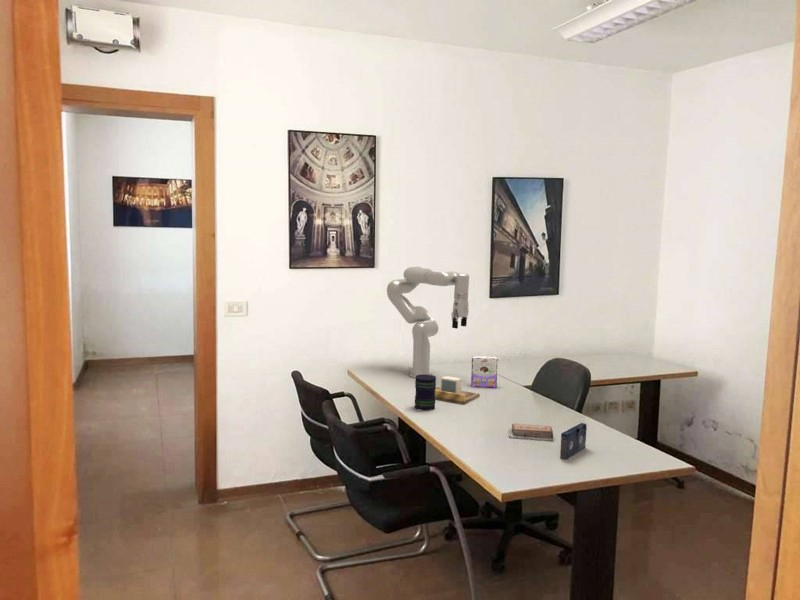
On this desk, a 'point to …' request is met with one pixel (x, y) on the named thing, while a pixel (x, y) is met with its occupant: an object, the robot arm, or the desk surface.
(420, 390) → the storage jar
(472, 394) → the shelf board
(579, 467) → the desk surface
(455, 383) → the cream carton
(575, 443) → the vhs cassette tape
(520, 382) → the desk surface
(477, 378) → the candy box
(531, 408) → the desk surface
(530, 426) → the packaged product
